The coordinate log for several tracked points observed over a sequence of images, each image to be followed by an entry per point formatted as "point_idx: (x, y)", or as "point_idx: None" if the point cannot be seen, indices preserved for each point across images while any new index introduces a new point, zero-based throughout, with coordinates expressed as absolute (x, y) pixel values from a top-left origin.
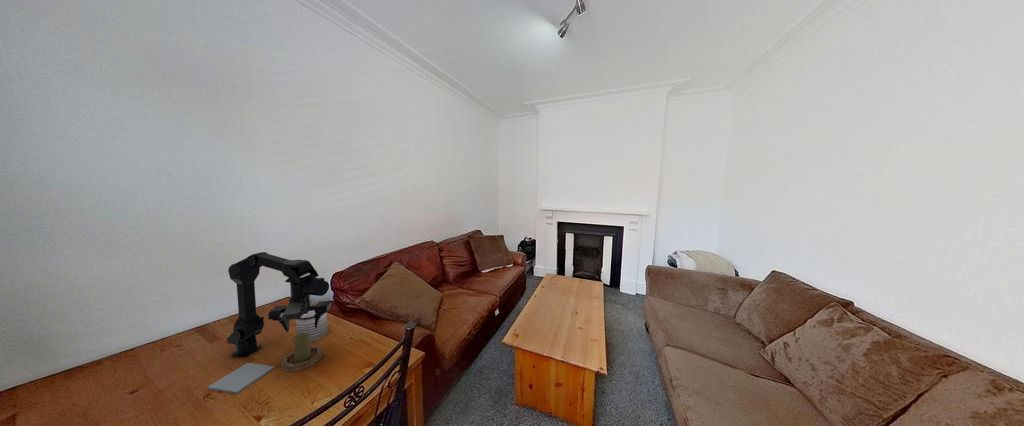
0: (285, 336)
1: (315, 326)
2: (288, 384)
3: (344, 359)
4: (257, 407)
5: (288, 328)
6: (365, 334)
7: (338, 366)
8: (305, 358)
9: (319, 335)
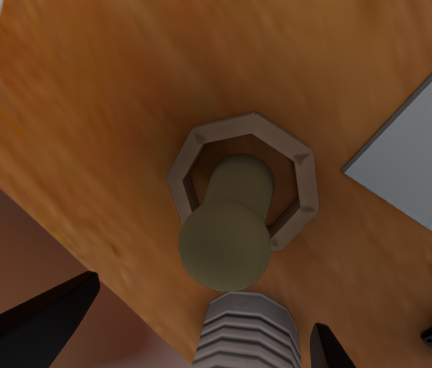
0: None
1: (74, 281)
2: (253, 13)
3: (87, 120)
4: None
5: (316, 364)
6: (77, 248)
7: (92, 78)
8: (221, 166)
9: (218, 306)
